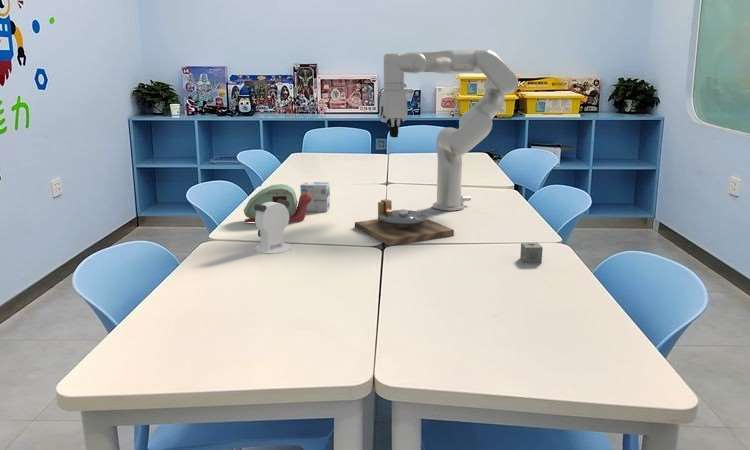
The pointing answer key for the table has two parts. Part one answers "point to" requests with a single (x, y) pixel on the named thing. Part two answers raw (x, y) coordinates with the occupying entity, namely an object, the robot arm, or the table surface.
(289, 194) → the toy snail
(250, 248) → the table surface
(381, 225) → the pivot base
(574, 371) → the table surface
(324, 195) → the light bulb box
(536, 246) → the dice cube
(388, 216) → the flange plate
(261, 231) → the white mount stand
